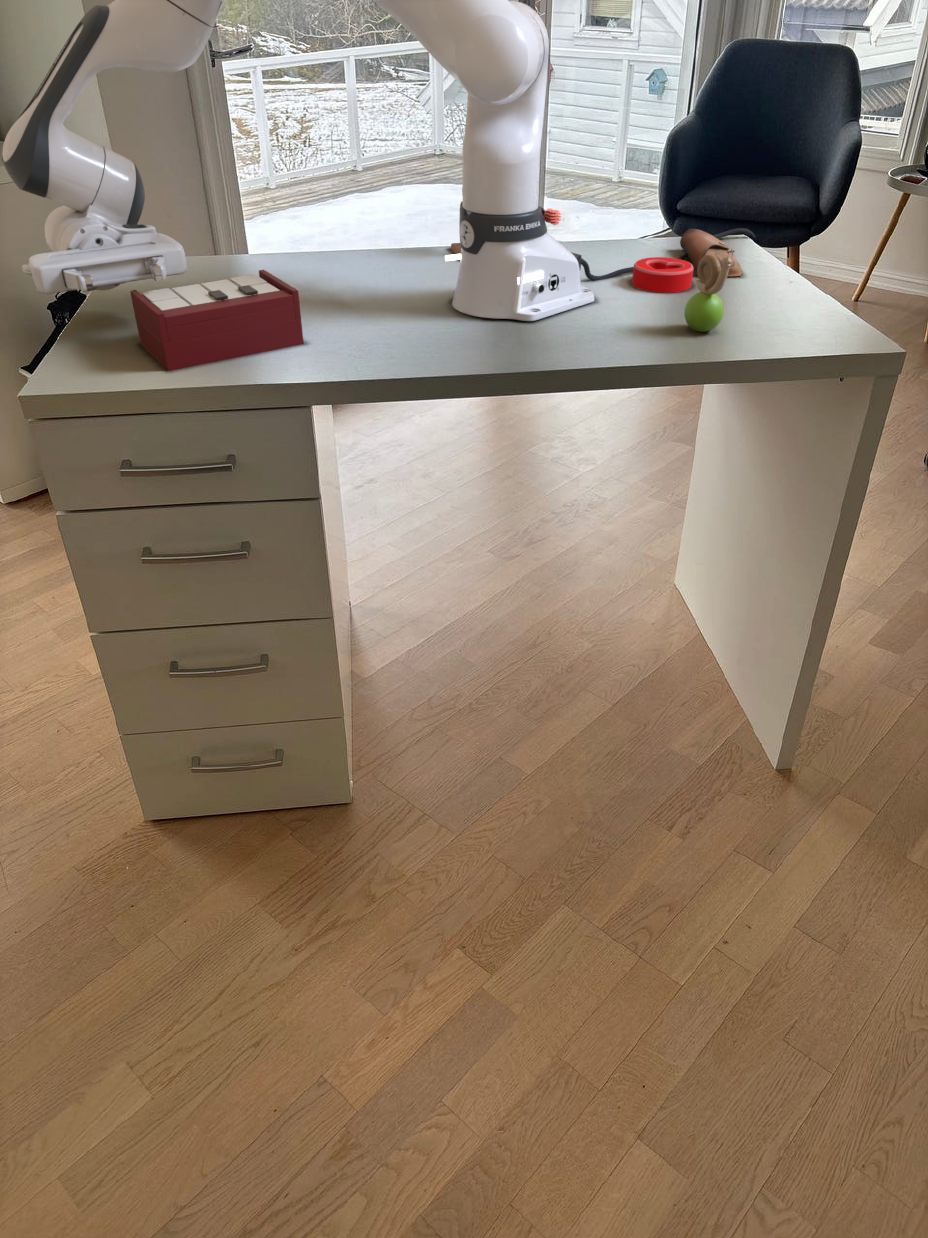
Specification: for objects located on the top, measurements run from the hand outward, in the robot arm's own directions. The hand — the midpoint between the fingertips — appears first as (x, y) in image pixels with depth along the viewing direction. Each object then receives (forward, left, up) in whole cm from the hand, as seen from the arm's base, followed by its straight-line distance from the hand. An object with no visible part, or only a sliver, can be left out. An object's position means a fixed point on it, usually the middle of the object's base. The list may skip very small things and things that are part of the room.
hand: (124, 279), depth 122 cm
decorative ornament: (-82, +14, -10) cm, 84 cm away
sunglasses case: (-98, +9, -10) cm, 99 cm away
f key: (-4, 0, -4) cm, 6 cm away
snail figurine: (-71, +35, -10) cm, 80 cm away
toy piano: (-11, +3, -10) cm, 15 cm away
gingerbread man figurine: (-65, -19, -10) cm, 68 cm away
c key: (-17, 0, -4) cm, 17 cm away
